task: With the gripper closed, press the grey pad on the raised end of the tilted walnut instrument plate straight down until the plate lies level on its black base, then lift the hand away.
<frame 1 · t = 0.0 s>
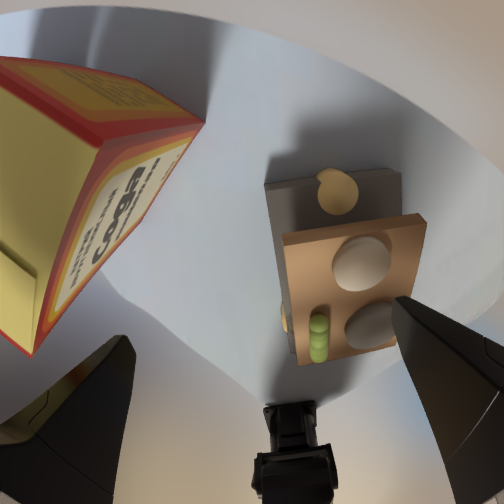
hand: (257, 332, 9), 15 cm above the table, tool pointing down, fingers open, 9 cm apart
instrument base: (336, 262, 25), on the table
baking soda box: (137, 151, 21), on the table
level plate: (354, 309, 20), point 5 cm above the table, hinge at 12.0°
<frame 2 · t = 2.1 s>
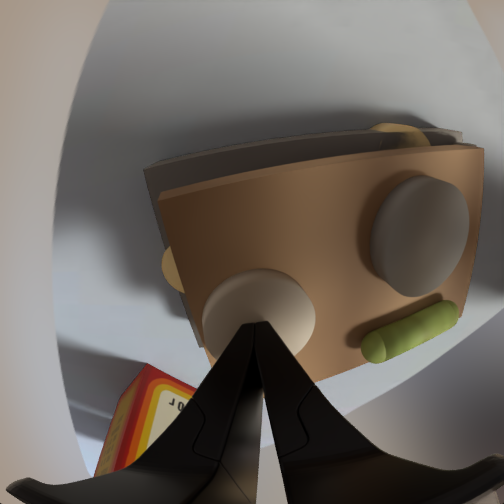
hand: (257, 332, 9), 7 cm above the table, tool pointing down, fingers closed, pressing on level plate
instrument base: (320, 229, 15), on the table
baking soda box: (182, 405, 22), on the table
level plate: (377, 276, 11), point 5 cm above the table, hinge at 11.9°, touching gripper
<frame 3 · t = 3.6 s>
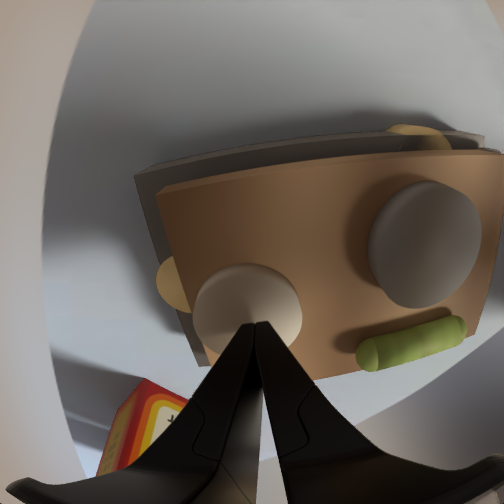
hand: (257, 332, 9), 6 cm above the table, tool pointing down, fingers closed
instrument base: (330, 241, 14), on the table
baking soda box: (182, 419, 21), on the table
level plate: (377, 283, 10), point 4 cm above the table, hinge at 1.0°
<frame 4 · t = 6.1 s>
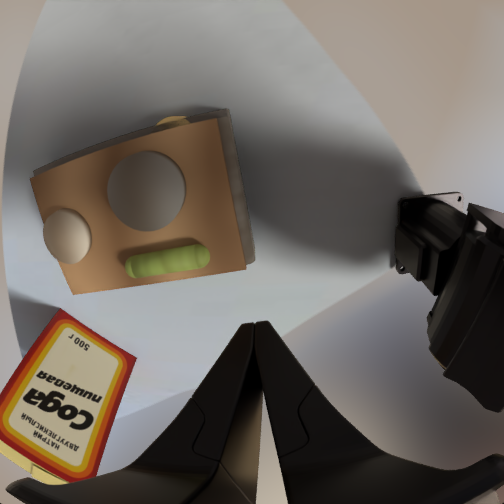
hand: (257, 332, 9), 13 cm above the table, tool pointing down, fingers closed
instrument base: (141, 201, 21), on the table
baking soda box: (90, 348, 28), on the table
level plate: (131, 218, 17), point 4 cm above the table, hinge at 1.0°
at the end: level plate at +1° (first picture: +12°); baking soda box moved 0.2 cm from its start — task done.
